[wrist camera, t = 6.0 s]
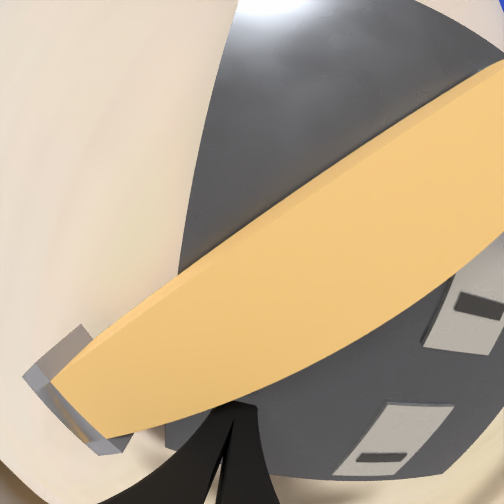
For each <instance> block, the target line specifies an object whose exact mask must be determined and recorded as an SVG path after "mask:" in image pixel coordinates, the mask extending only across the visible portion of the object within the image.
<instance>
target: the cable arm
mask: <svg viewBox="0 0 504 504" xmlns="http://www.w3.org/2000/svg"><path fill="white" fill-rule="evenodd" d="M503 232H504V59H503V60H501V61H499V62H496V63H494V64H492V65H490V66H488V67H486V68H485V69H483V70H481V71H480V72H478V73H476V74H475V75H473V76H471V77H470V78H468V79H467V80H465V81H463V82H462V83H460V84H458V85H457V86H455V87H453V88H452V89H450V90H449V91H447V92H445V93H444V94H442V95H441V96H439V97H437V98H436V99H434V100H433V101H431V102H429V103H428V104H426V105H425V106H423V107H421V108H420V109H418V110H417V111H415V112H414V113H412V114H410V115H409V116H407V117H406V118H404V119H403V120H401V121H400V122H398V123H397V124H395V125H393V126H392V127H390V128H389V129H387V130H386V131H384V132H383V133H381V134H380V135H378V136H377V137H375V138H374V139H372V140H370V141H369V142H367V143H366V144H364V145H363V146H361V147H360V148H358V149H357V150H355V151H354V152H352V153H351V154H349V155H348V156H346V157H345V158H343V159H342V160H340V161H339V162H338V163H336V164H335V165H333V166H332V167H330V168H329V169H327V170H326V171H324V172H323V173H321V174H320V175H318V176H317V177H315V178H314V179H312V180H311V181H310V182H308V183H307V184H305V185H304V186H302V187H301V188H299V189H298V190H296V191H295V192H294V193H292V194H291V195H289V196H288V197H286V198H285V199H284V200H282V201H281V202H279V203H278V204H276V205H275V206H273V207H272V208H271V209H269V210H268V211H266V212H265V213H264V214H262V215H261V216H259V217H258V218H256V219H255V220H254V221H252V222H251V223H249V224H248V225H247V226H245V227H244V228H242V229H241V230H240V231H238V232H237V233H235V234H234V235H233V236H231V237H230V238H228V239H227V240H226V241H224V242H223V243H221V244H220V245H219V246H217V247H216V248H214V249H213V250H212V251H210V252H209V253H208V254H206V255H205V256H203V257H202V258H201V259H199V260H198V261H197V262H195V263H194V264H193V265H191V266H190V267H188V268H187V269H186V270H184V271H183V272H182V273H180V274H179V275H178V276H176V277H175V278H174V279H172V280H171V281H169V282H168V283H167V284H165V285H164V286H163V287H161V288H160V289H159V290H157V291H156V292H155V293H153V294H152V295H151V296H149V297H148V298H147V299H145V300H144V301H143V302H141V303H140V304H139V305H138V306H136V307H135V308H134V309H132V310H131V311H130V312H128V313H127V314H126V315H124V316H123V317H122V318H120V319H119V320H118V321H117V322H115V323H114V324H113V325H111V326H110V327H109V328H107V329H106V330H105V331H104V332H102V333H101V334H100V335H98V336H97V337H96V338H95V339H93V338H92V337H91V336H90V335H89V333H88V332H87V331H86V330H85V328H84V327H83V326H82V324H80V325H79V326H78V327H77V328H75V329H74V330H73V331H72V332H71V333H69V334H68V335H67V336H66V337H65V338H63V339H62V340H61V341H60V342H59V343H58V344H56V345H55V346H54V347H53V348H52V349H51V350H49V351H48V352H47V353H46V354H45V355H44V356H42V357H41V358H40V359H39V360H38V361H37V362H36V363H35V364H34V365H33V366H32V367H31V368H30V369H29V370H28V371H27V372H26V373H25V374H24V375H23V376H22V377H23V378H24V380H25V381H26V382H27V383H28V385H29V386H30V387H31V388H32V390H33V391H34V392H35V393H36V394H37V396H38V397H39V398H40V399H41V400H42V401H43V402H44V404H45V405H46V406H47V407H48V408H49V409H50V410H51V411H52V412H53V413H54V414H55V415H56V416H57V418H58V419H59V420H60V421H61V422H62V423H63V424H64V425H65V426H66V427H67V428H68V429H69V430H70V431H72V432H73V433H74V434H75V435H76V436H77V437H78V438H79V439H80V440H81V441H82V442H83V443H84V444H86V445H87V446H88V447H89V448H90V449H91V450H92V451H94V452H95V453H96V454H97V455H98V456H101V455H109V454H117V453H123V451H124V449H125V448H126V446H127V444H128V443H129V441H130V439H131V437H132V436H133V434H134V432H138V431H142V430H145V429H149V428H152V427H156V426H159V425H163V424H166V423H169V422H173V421H176V420H179V419H182V418H185V417H188V416H191V415H194V414H197V413H200V412H203V411H206V410H208V409H211V408H214V407H217V406H219V405H222V404H225V403H227V402H230V401H232V400H235V399H237V398H240V397H242V396H245V395H247V394H249V393H252V392H254V391H257V390H259V389H261V388H263V387H266V386H268V385H270V384H272V383H275V382H277V381H279V380H281V379H283V378H285V377H288V376H290V375H292V374H294V373H296V372H298V371H300V370H302V369H304V368H306V367H308V366H310V365H312V364H314V363H316V362H318V361H320V360H322V359H323V358H325V357H327V356H329V355H331V354H333V353H335V352H336V351H338V350H340V349H342V348H344V347H345V346H347V345H349V344H351V343H352V342H354V341H356V340H358V339H359V338H361V337H363V336H364V335H366V334H368V333H369V332H371V331H373V330H374V329H376V328H378V327H379V326H381V325H382V324H384V323H386V322H387V321H389V320H390V319H392V318H393V317H395V316H396V315H398V314H399V313H401V312H402V311H404V310H405V309H407V308H408V307H410V306H411V305H413V304H414V303H416V302H417V301H419V300H420V299H421V298H423V297H424V296H426V295H427V294H428V293H430V292H431V291H432V290H434V289H435V288H437V287H438V286H439V285H441V284H442V283H443V282H445V281H446V280H447V279H448V278H450V277H451V276H452V275H454V274H455V273H456V272H457V271H459V270H460V269H461V268H462V267H464V266H465V265H466V264H467V263H468V262H470V261H471V260H472V259H473V258H474V257H476V256H477V255H478V254H479V253H480V252H481V251H483V250H484V249H485V248H486V247H487V246H488V245H489V244H491V243H492V242H493V241H494V240H495V239H496V238H497V237H498V236H499V235H500V234H501V233H503Z"/></svg>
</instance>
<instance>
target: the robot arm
mask: <svg viewBox="0 0 504 504" xmlns="http://www.w3.org/2000/svg"><path fill="white" fill-rule="evenodd" d="M222 457H223V459H222ZM221 460H222V465H221V471H220V478H219V484H218V490H217V496H216V503H215V504H280V503H279V500H278V498H277V496H276V493H275V491H274V488H273V485H272V482H271V479H270V476H269V473H268V470H267V466H266V462H265V458H264V454H263V450H262V445H261V440H260V433H259V425H258V408H257V406H256V405H252V404H248V403H243V402H239V401H235V400H232V401H230V402H227V403H225V404H222V405H219V406H217V407H214V408H213V409H212V410H211V412H210V413H209V415H208V416H207V418H206V419H205V420H204V422H203V423H202V424H201V425H200V427H199V428H198V429H197V430H196V431H195V433H194V434H193V435H192V436H191V437H190V438H189V440H188V441H187V442H186V443H185V444H184V445H183V446H182V447H181V448H180V449H179V450H178V451H177V452H176V453H175V454H174V455H173V456H171V457H170V458H169V459H168V460H167V461H166V462H165V463H163V464H162V465H161V466H160V467H158V468H157V469H156V470H155V471H153V472H152V473H151V474H149V475H148V476H146V477H145V478H143V479H142V480H141V481H139V482H138V483H136V484H134V485H133V486H131V487H130V488H128V489H126V490H124V491H122V492H121V493H119V494H117V495H115V496H113V497H111V498H109V499H107V500H105V501H103V502H101V503H98V504H204V501H205V499H206V497H207V494H208V492H209V489H210V487H211V484H212V482H213V480H214V477H215V475H216V472H217V470H218V467H219V465H220V462H221Z"/></svg>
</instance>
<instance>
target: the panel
mask: <svg viewBox="0 0 504 504" xmlns="http://www.w3.org/2000/svg"><path fill="white" fill-rule="evenodd" d="M503 59H504V53H503V52H502V51H501V50H499V49H498V48H497V47H495V46H494V45H493V44H491V43H490V42H488V41H487V40H485V39H484V38H482V37H481V36H479V35H478V34H476V33H475V32H473V31H471V30H470V29H468V28H466V27H465V26H463V25H461V24H460V23H458V22H456V21H454V20H453V19H451V18H449V17H447V16H445V15H443V14H442V13H440V12H438V11H436V10H434V9H432V8H430V7H428V6H425V5H423V4H421V3H419V2H417V1H414V0H239V3H238V6H237V9H236V12H235V15H234V18H233V21H232V25H231V28H230V31H229V34H228V38H227V41H226V44H225V48H224V51H223V55H222V58H221V62H220V65H219V69H218V73H217V76H216V80H215V84H214V88H213V92H212V96H211V100H210V104H209V108H208V112H207V116H206V120H205V125H204V129H203V134H202V138H201V143H200V147H199V152H198V157H197V162H196V167H195V172H194V177H193V182H192V187H191V193H190V198H189V204H188V210H187V216H186V222H185V228H184V234H183V241H182V247H181V254H180V261H179V269H178V275H179V274H180V273H182V272H183V271H184V270H186V269H187V268H188V267H190V266H191V265H193V264H194V263H195V262H197V261H198V260H199V259H201V258H202V257H203V256H205V255H206V254H208V253H209V252H210V251H212V250H213V249H214V248H216V247H217V246H219V245H220V244H221V243H223V242H224V241H226V240H227V239H228V238H230V237H231V236H233V235H234V234H235V233H237V232H238V231H240V230H241V229H242V228H244V227H245V226H247V225H248V224H249V223H251V222H252V221H254V220H255V219H256V218H258V217H259V216H261V215H262V214H264V213H265V212H266V211H268V210H269V209H271V208H272V207H273V206H275V205H276V204H278V203H279V202H281V201H282V200H284V199H285V198H286V197H288V196H289V195H291V194H292V193H294V192H295V191H296V190H298V189H299V188H301V187H302V186H304V185H305V184H307V183H308V182H310V181H311V180H312V179H314V178H315V177H317V176H318V175H320V174H321V173H323V172H324V171H326V170H327V169H329V168H330V167H332V166H333V165H335V164H336V163H338V162H339V161H340V160H342V159H343V158H345V157H346V156H348V155H349V154H351V153H352V152H354V151H355V150H357V149H358V148H360V147H361V146H363V145H364V144H366V143H367V142H369V141H370V140H372V139H374V138H375V137H377V136H378V135H380V134H381V133H383V132H384V131H386V130H387V129H389V128H390V127H392V126H393V125H395V124H397V123H398V122H400V121H401V120H403V119H404V118H406V117H407V116H409V115H410V114H412V113H414V112H415V111H417V110H418V109H420V108H421V107H423V106H425V105H426V104H428V103H429V102H431V101H433V100H434V99H436V98H437V97H439V96H441V95H442V94H444V93H445V92H447V91H449V90H450V89H452V88H453V87H455V86H457V85H458V84H460V83H462V82H463V81H465V80H467V79H468V78H470V77H471V76H473V75H475V74H476V73H478V72H480V71H481V70H483V69H485V68H486V67H488V66H490V65H492V64H494V63H496V62H499V61H501V60H503ZM235 401H239V402H243V403H248V404H252V405H256V406H257V408H258V425H259V433H260V440H261V445H262V450H263V454H264V458H265V462H266V466H267V470H268V473H269V474H273V475H280V476H287V477H296V478H305V479H317V480H335V481H379V480H396V479H407V478H417V477H425V476H432V475H438V474H443V473H444V472H445V471H446V470H447V469H448V468H449V467H450V466H451V465H452V464H453V463H454V462H455V461H456V460H458V459H459V458H460V457H461V455H462V454H463V453H464V452H465V451H466V450H467V449H468V448H469V447H470V446H471V445H472V444H473V443H474V442H475V441H476V440H477V438H478V437H479V436H480V435H481V434H482V433H483V432H484V430H485V429H486V428H487V427H488V426H489V424H490V423H491V422H492V421H493V420H494V418H495V417H496V416H497V414H498V413H499V412H500V411H501V409H502V408H503V407H504V232H503V233H501V234H500V235H499V236H498V237H497V238H496V239H495V240H494V241H493V242H492V243H491V244H489V245H488V246H487V247H486V248H485V249H484V250H483V251H481V252H480V253H479V254H478V255H477V256H476V257H474V258H473V259H472V260H471V261H470V262H468V263H467V264H466V265H465V266H464V267H462V268H461V269H460V270H459V271H457V272H456V273H455V274H454V275H452V276H451V277H450V278H448V279H447V280H446V281H445V282H443V283H442V284H441V285H439V286H438V287H437V288H435V289H434V290H432V291H431V292H430V293H428V294H427V295H426V296H424V297H423V298H421V299H420V300H419V301H417V302H416V303H414V304H413V305H411V306H410V307H408V308H407V309H405V310H404V311H402V312H401V313H399V314H398V315H396V316H395V317H393V318H392V319H390V320H389V321H387V322H386V323H384V324H382V325H381V326H379V327H378V328H376V329H374V330H373V331H371V332H369V333H368V334H366V335H364V336H363V337H361V338H359V339H358V340H356V341H354V342H352V343H351V344H349V345H347V346H345V347H344V348H342V349H340V350H338V351H336V352H335V353H333V354H331V355H329V356H327V357H325V358H323V359H322V360H320V361H318V362H316V363H314V364H312V365H310V366H308V367H306V368H304V369H302V370H300V371H298V372H296V373H294V374H292V375H290V376H288V377H285V378H283V379H281V380H279V381H277V382H275V383H272V384H270V385H268V386H266V387H263V388H261V389H259V390H257V391H254V392H252V393H249V394H247V395H245V396H242V397H240V398H237V399H235ZM212 409H213V408H211V409H208V410H206V411H203V412H200V413H197V414H194V415H191V416H188V417H185V418H182V419H179V420H176V421H173V422H169V423H166V426H165V447H166V448H169V449H172V450H175V451H178V450H179V449H180V448H181V447H182V446H183V445H184V444H185V443H186V442H187V441H188V440H189V438H190V437H191V436H192V435H193V434H194V433H195V431H196V430H197V429H198V428H199V427H200V425H201V424H202V423H203V422H204V420H205V419H206V418H207V416H208V415H209V413H210V412H211V410H212ZM222 459H223V457H222ZM220 464H222V460H221V462H220Z"/></svg>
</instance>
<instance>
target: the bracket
mask: <svg viewBox="0 0 504 504" xmlns="http://www.w3.org/2000/svg"><path fill="white" fill-rule="evenodd" d="M499 2H500V4H501V7H502V9H503V11H504V0H499Z"/></svg>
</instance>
